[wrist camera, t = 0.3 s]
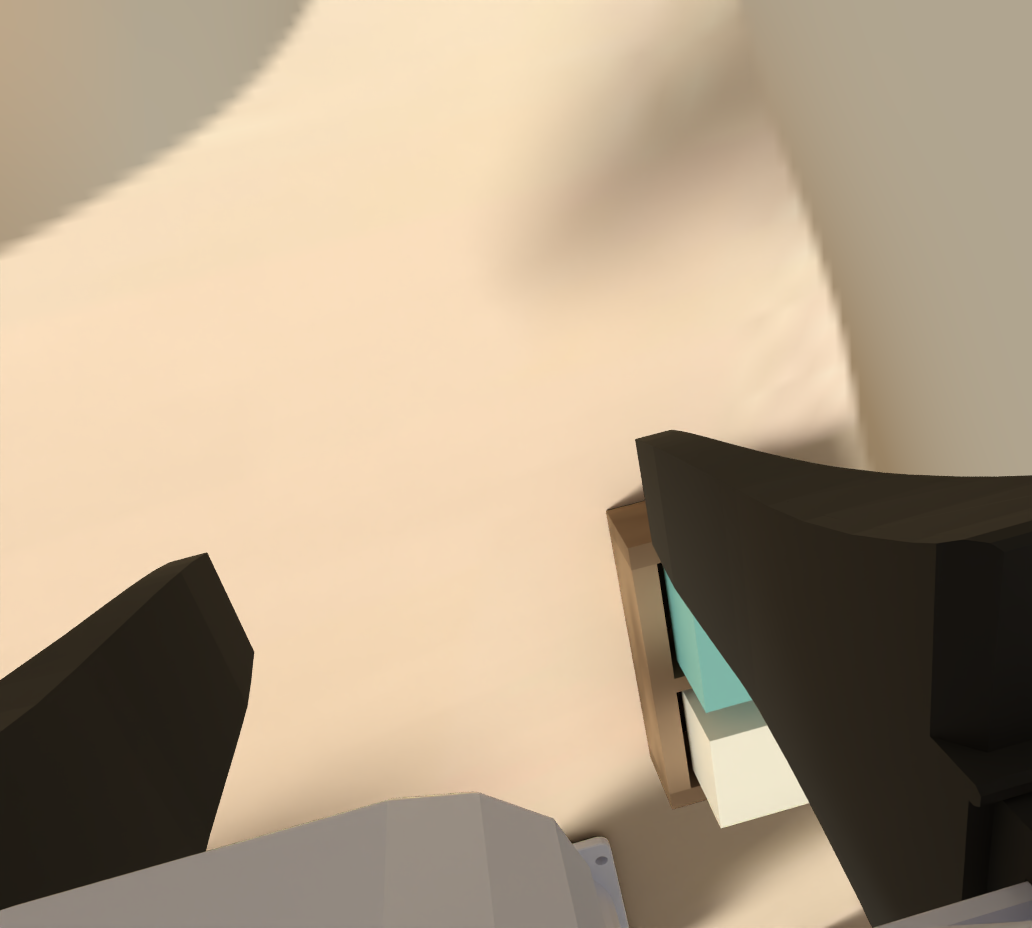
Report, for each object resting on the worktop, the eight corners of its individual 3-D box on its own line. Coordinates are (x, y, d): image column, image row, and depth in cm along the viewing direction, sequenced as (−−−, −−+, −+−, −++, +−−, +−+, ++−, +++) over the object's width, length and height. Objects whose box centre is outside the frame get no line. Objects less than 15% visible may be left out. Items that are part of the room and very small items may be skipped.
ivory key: (795, 740, 26) (834, 796, 23) (692, 769, 25) (720, 828, 23) (791, 656, 24) (831, 707, 22) (680, 686, 24) (709, 741, 21)
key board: (797, 715, 28) (832, 763, 26) (650, 756, 28) (672, 809, 25) (783, 464, 23) (824, 496, 21) (606, 511, 23) (627, 548, 21)
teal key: (789, 628, 23) (830, 678, 21) (676, 659, 23) (706, 713, 21) (783, 528, 22) (827, 570, 19) (661, 561, 22) (692, 607, 19)
